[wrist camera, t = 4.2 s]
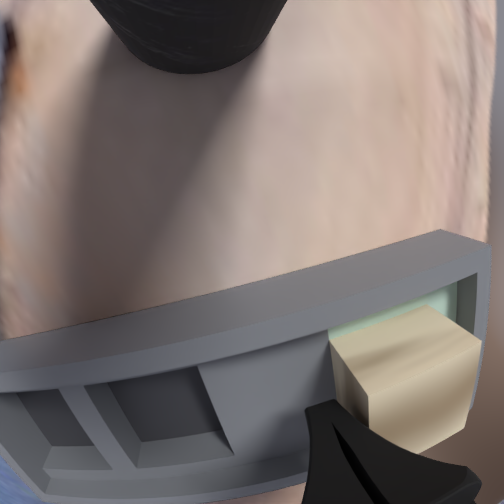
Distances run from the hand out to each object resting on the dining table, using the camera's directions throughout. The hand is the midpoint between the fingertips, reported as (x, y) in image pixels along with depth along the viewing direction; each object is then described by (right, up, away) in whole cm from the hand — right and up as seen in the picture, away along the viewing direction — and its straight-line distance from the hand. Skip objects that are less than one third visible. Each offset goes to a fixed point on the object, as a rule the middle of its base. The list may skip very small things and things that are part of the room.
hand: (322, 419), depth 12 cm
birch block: (+3, +1, +2) cm, 4 cm away
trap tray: (-5, 0, +4) cm, 6 cm away
